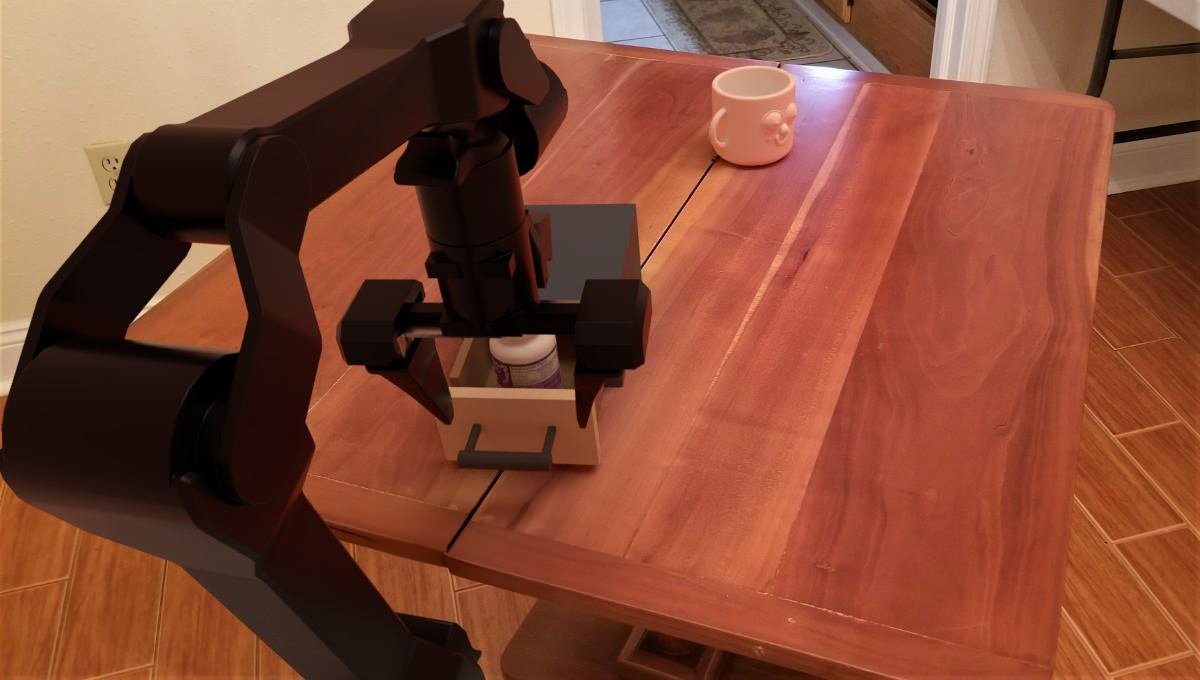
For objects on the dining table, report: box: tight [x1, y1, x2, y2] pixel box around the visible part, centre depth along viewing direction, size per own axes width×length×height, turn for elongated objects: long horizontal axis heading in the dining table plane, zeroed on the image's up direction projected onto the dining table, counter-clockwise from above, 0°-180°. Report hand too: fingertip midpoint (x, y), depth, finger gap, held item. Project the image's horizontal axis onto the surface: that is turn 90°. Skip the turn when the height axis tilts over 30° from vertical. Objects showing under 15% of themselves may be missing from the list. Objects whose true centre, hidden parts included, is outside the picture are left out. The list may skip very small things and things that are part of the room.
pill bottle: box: [489, 335, 563, 389], centre depth 76 cm, size 5×5×10 cm
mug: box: [708, 65, 799, 166], centre depth 111 cm, size 12×10×9 cm
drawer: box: [434, 335, 605, 473], centre depth 77 cm, size 20×13×7 cm, turn 172°
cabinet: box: [461, 203, 643, 387], centre depth 88 cm, size 17×14×9 cm
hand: (516, 422), depth 62 cm, fingers open, 9 cm apart
